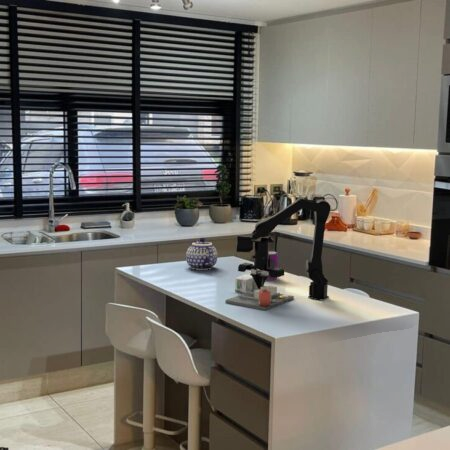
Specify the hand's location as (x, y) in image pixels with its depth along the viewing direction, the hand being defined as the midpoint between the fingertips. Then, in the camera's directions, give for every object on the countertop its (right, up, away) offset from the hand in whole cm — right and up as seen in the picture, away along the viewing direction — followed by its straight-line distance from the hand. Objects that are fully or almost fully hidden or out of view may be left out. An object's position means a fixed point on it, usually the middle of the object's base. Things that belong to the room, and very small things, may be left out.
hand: (260, 290), depth 283 cm
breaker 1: (0, -3, -8) cm, 9 cm away
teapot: (-25, +6, +54) cm, 60 cm away
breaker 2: (+3, -2, -2) cm, 4 cm away
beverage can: (+6, +2, +34) cm, 35 cm away
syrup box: (0, +3, +20) cm, 20 cm away
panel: (0, -3, -6) cm, 7 cm away
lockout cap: (+1, -4, -16) cm, 16 cm away
